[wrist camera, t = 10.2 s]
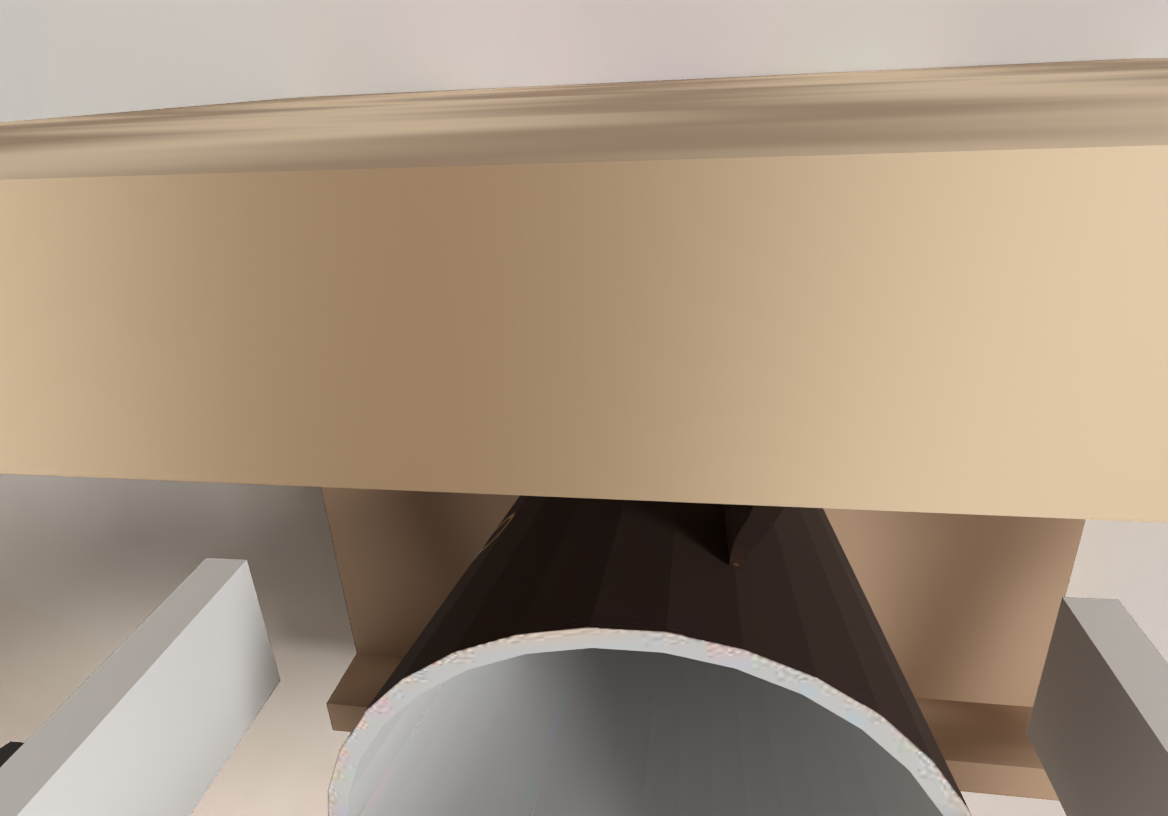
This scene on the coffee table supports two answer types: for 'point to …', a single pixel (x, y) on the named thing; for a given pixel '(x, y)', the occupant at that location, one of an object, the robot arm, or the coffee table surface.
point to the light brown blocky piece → (630, 331)
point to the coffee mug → (648, 678)
